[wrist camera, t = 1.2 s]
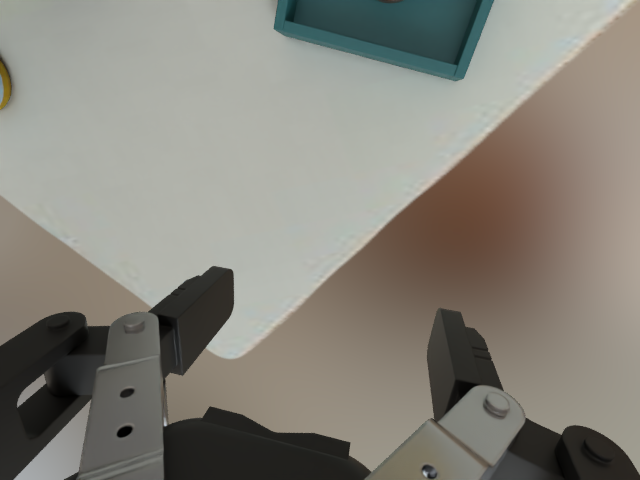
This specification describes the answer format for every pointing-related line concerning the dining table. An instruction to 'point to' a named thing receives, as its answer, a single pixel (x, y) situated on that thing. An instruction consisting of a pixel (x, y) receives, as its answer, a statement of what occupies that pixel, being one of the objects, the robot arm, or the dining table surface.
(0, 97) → the bottle
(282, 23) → the tray
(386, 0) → the pepper mill
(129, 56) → the dining table surface
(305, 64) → the dining table surface
